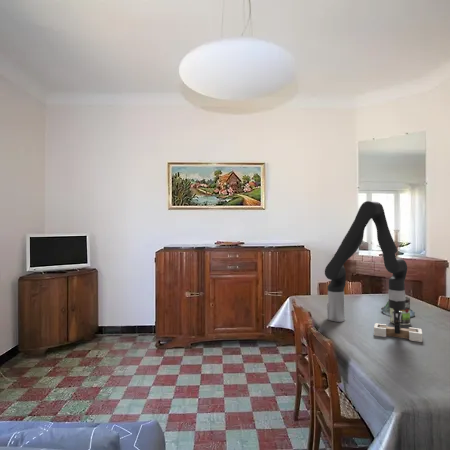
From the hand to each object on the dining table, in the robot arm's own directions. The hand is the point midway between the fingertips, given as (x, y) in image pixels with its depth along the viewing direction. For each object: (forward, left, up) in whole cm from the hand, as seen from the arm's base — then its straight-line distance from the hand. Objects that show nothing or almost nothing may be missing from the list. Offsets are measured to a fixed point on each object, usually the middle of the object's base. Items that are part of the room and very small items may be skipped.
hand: (397, 330), depth 159 cm
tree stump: (0, +44, -3) cm, 44 cm away
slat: (0, 0, -3) cm, 3 cm away
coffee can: (+1, +25, -3) cm, 25 cm away
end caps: (0, 0, -3) cm, 3 cm away
